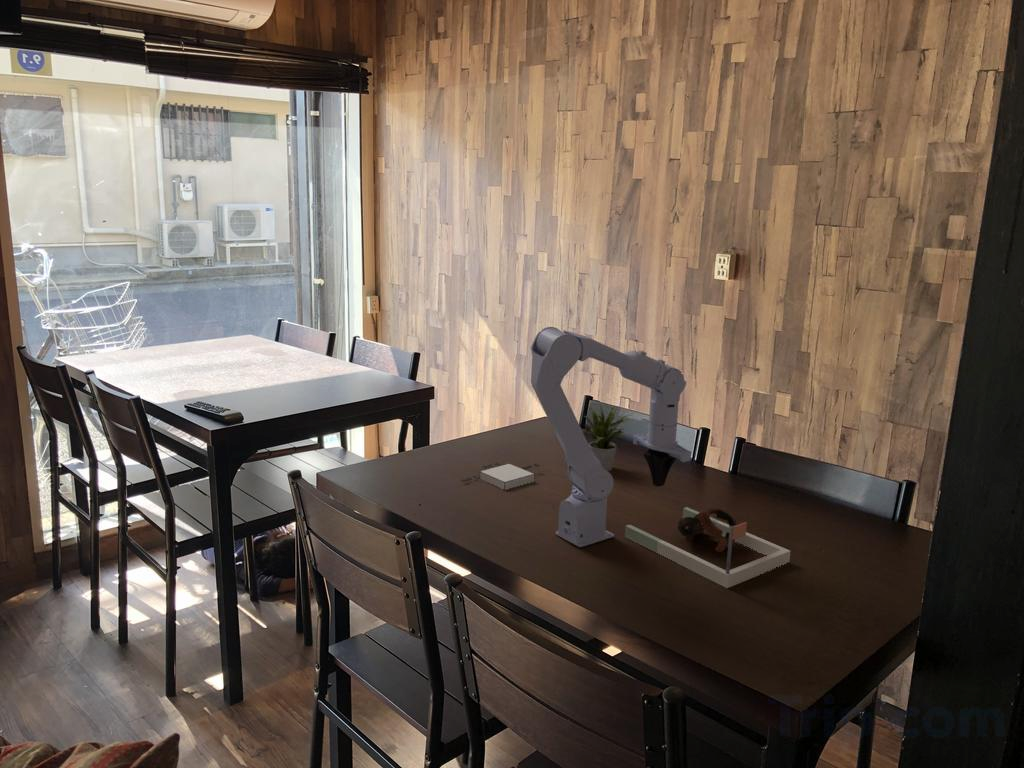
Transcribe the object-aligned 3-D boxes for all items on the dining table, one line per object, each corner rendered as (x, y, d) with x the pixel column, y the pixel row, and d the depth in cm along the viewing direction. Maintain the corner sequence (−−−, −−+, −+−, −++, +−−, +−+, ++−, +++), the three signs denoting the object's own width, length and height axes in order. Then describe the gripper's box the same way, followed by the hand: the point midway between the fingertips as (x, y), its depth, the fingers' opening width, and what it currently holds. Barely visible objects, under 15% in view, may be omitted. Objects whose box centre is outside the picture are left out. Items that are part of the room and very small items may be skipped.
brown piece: (711, 531, 170) (731, 505, 165) (727, 567, 163) (749, 542, 158) (663, 524, 165) (683, 497, 161) (677, 561, 158) (698, 534, 154)
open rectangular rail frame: (726, 588, 144) (732, 528, 141) (624, 537, 165) (628, 484, 162) (789, 562, 155) (795, 506, 152) (686, 517, 175) (690, 467, 172)
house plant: (629, 482, 196) (632, 417, 192) (572, 476, 199) (575, 413, 195) (632, 463, 210) (636, 403, 206) (579, 458, 212) (582, 399, 209)
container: (486, 496, 186) (486, 486, 185) (456, 483, 194) (457, 472, 194) (550, 478, 199) (550, 468, 198) (519, 466, 207) (520, 456, 206)
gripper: (703, 428, 161) (698, 491, 164) (651, 411, 173) (647, 471, 176) (679, 433, 157) (674, 498, 160) (627, 416, 169) (623, 477, 172)
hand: (658, 485), depth 168 cm, fingers closed
